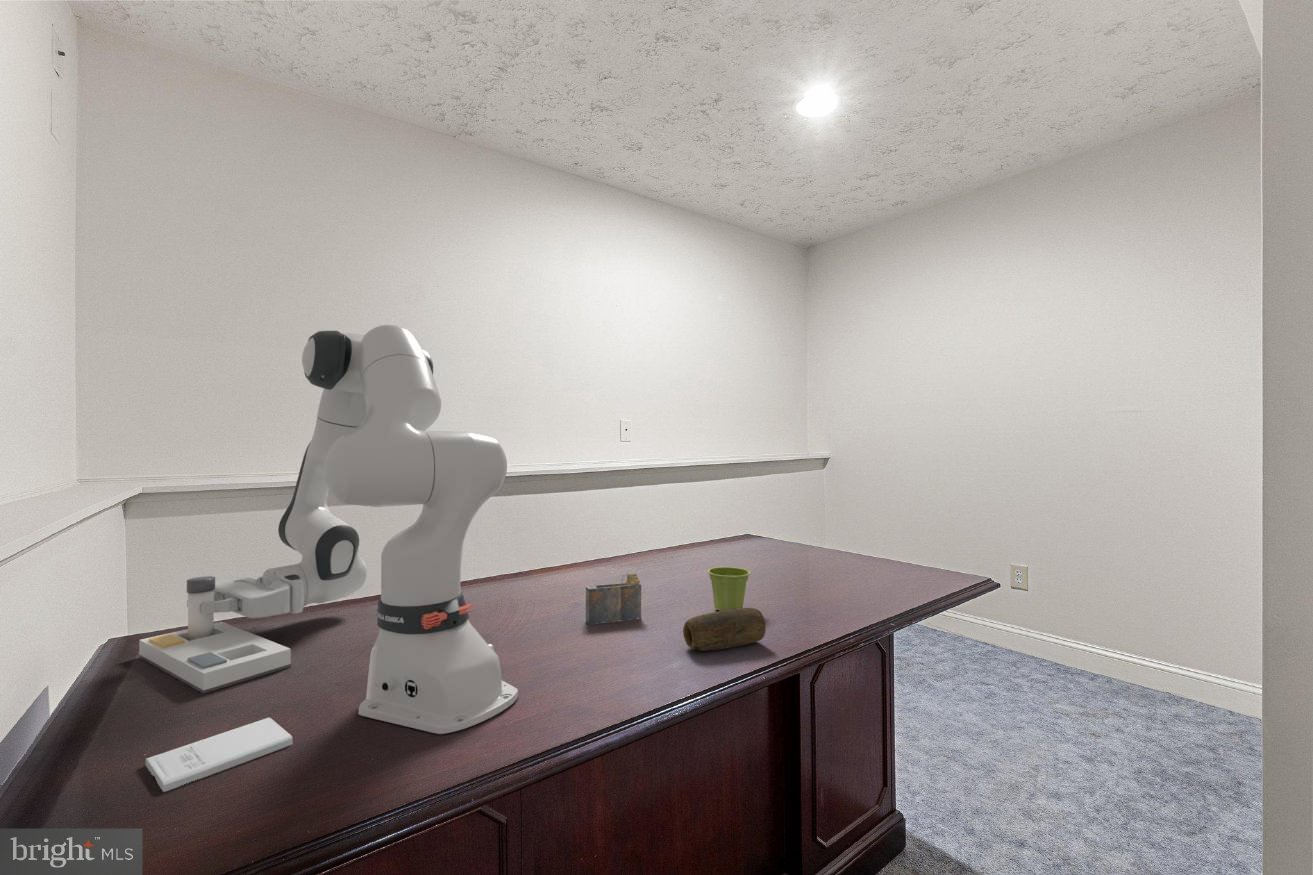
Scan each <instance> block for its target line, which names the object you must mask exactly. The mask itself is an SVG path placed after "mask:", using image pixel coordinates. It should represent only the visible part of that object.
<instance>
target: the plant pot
mask: <svg viewBox="0 0 1313 875" xmlns="http://www.w3.org/2000/svg"><path fill="white" fill-rule="evenodd" d="M707 573H708V574H709V580H711V582H710V583H711V588H712V596H713V603H714V609H715V608H716V610H719V611H725V610H732V609H739V608H744V600H745V594H746V588H747V582H748V580H749V576H750V575H751V571H750V570H748V569H746V568H742V567H741V568H740V567H733V566H720V567H719V566H718V567H712V568H709V569H707ZM716 610H715V611H716ZM719 611H718V612H719Z"/></svg>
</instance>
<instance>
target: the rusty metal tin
mask: <svg viewBox="0 0 1313 875" xmlns="http://www.w3.org/2000/svg"><path fill="white" fill-rule="evenodd" d="M637 618H641V619H642V584H641V583H640V579H639V576H638V574H637V572H636V571H635V572H634V573H630V574H629V573H628V572H626V582H618V583H609V584H607V583H606V584H596V587H595V588H594V587H593V588H590V587H589V586H588V585H586V586H585V622H586V623H587V622H588V623H587V624H588V625H595V624H596V623H598V624H603V623H602V622H607V623H614V622H613V621H616V622H619V621H618V620H626V621H629V620H628V619H635V620H638V619H637ZM596 625H597V624H596Z"/></svg>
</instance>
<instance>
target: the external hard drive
mask: <svg viewBox="0 0 1313 875" xmlns="http://www.w3.org/2000/svg"><path fill="white" fill-rule="evenodd" d="M293 738H294V737H293V735H291V734H290V733H289V732H288V731H287V730H285V729H284V728H283V727H282V726H281V725H279V724H278V722H276V721H275V720H274V719H272V717H266V718H263V719H260V720H258V721H254V722H252V723H248V724H245V725H242V726H239V727H237V728H233V729H231V730H226V731H225V732H222V733H218V734H215V735H212V736H210V737H207V738H203V739H200V740H198V741H195V742H192V743H189V744H186V745H183V746H180V747H179V746H178V747H177V748H174V749H171V750H168V751H165V752H163V753H160V754H156V755H152V756H150V757H148V758H147V757H146V758H145V767H146V768H147V770H148V771H149V772H151V773H150V774H151V776H152V777H154V778H155V782H156V781H157V782H156V783H157V784H158V786H159V788H160V789H161V790H162V792H163V793H166V792H168V791H171V790H174V789H176V788H179V787H182V786H185V785H187V784H190V783H192V782H191V781H193V782H195V780H196V781H198V780H200V779H204V778H206V777H208V776H212V775H214V774H217V773H220V772H222V771H225V770H228V769H231V768H233V767H236V766H238V765H241V764H244V763H247V762H250V761H252V760H254V759H257V758H260V757H263V756H265V755H268V754H271V753H273V752H277V751H279V750H281V749H284V748H287V747H290V746H292V745H293V742H294V741H293ZM197 779H198V780H197ZM189 782H190V783H189ZM186 783H187V784H186ZM184 784H185V785H184ZM181 785H182V786H181Z"/></svg>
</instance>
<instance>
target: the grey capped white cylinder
mask: <svg viewBox="0 0 1313 875" xmlns="http://www.w3.org/2000/svg"><path fill="white" fill-rule="evenodd" d="M215 582H216V576H209V575H207V576H197V577H192V578H189V579H186V594H187V600H188V607H187V629H188V641H190V640H195V639H199V638H203V637H207V636H211V635H214V623H215V620H214V619H215V616H214V614H215V613H210V614H203V613H200V604H201V603H205V602H210V601H213V602H214V589H215Z"/></svg>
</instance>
